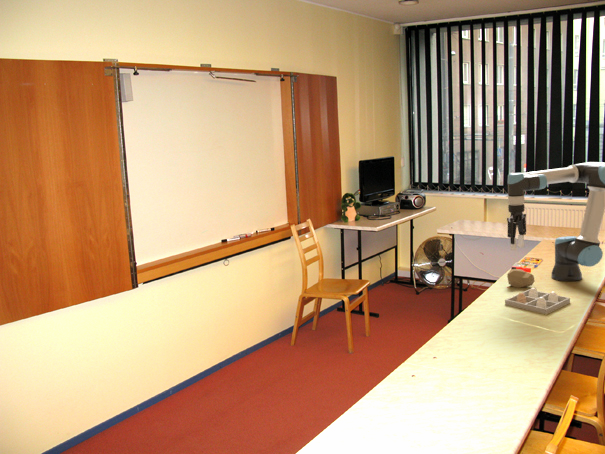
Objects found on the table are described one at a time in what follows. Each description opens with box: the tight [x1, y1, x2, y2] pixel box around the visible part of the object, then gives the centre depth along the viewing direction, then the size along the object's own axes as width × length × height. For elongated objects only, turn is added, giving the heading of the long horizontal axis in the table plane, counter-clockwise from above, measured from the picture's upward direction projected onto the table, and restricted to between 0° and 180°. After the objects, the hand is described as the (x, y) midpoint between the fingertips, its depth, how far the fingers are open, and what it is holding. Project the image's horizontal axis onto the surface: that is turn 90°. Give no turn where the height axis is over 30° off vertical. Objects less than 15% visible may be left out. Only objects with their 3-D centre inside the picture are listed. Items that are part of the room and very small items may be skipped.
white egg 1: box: [529, 287, 538, 298], centre depth 260 cm, size 4×4×6 cm
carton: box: [504, 288, 571, 315], centre depth 254 cm, size 21×21×3 cm
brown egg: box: [517, 292, 526, 304], centre depth 255 cm, size 4×4×6 cm
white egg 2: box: [537, 297, 546, 309], centre depth 247 cm, size 4×4×6 cm
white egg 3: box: [548, 291, 559, 303], centre depth 252 cm, size 4×4×6 cm
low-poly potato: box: [507, 268, 535, 288], centre depth 281 cm, size 15×11×12 cm
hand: (517, 248), depth 267 cm, fingers open, 6 cm apart
